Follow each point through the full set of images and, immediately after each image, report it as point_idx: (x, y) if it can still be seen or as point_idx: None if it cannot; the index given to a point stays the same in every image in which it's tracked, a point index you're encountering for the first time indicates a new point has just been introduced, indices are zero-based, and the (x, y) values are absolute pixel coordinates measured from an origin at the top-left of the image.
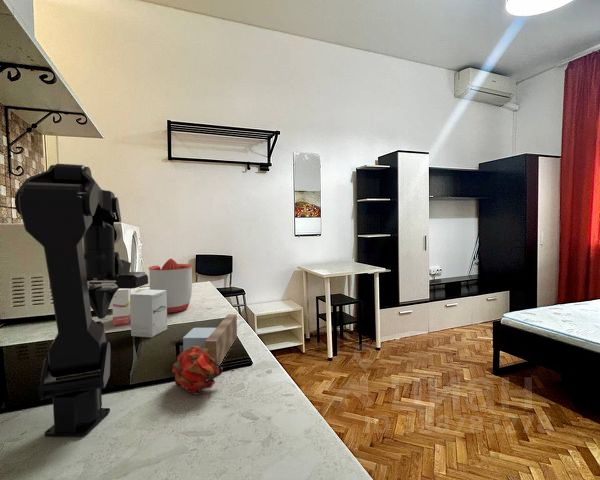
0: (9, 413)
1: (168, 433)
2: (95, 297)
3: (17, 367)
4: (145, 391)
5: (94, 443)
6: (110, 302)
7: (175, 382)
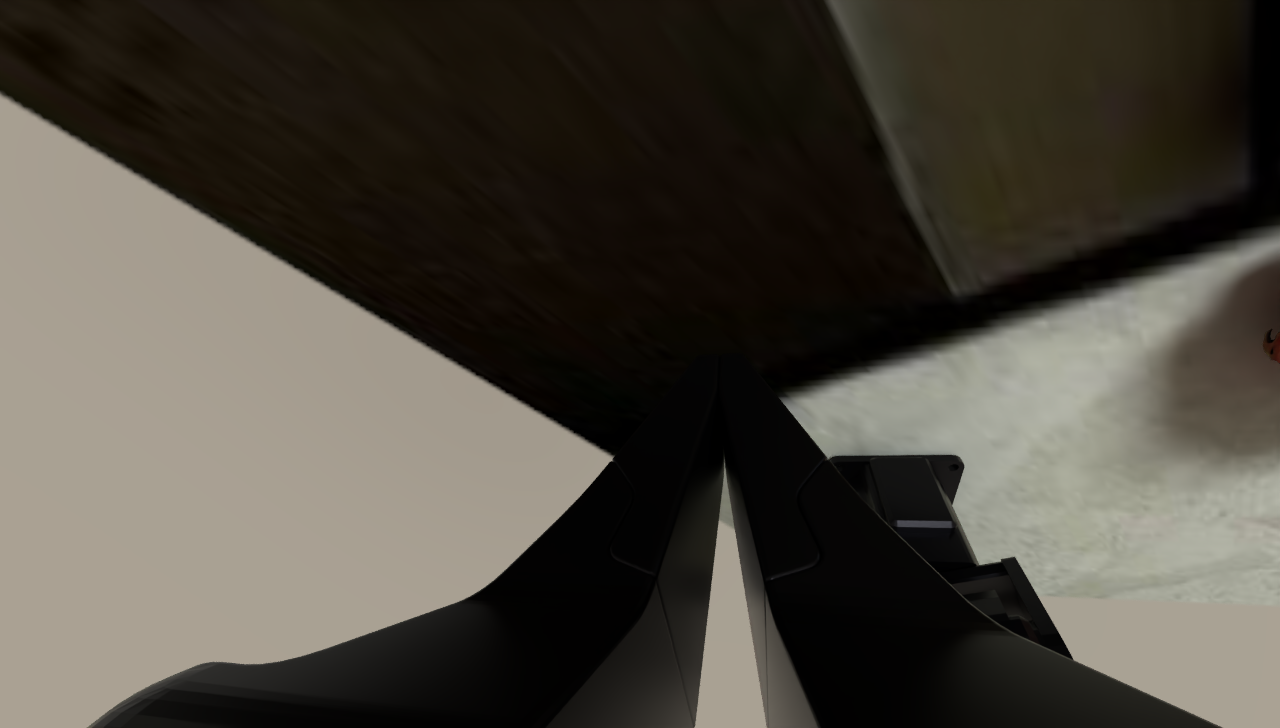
0: None
1: (1205, 521)
2: (686, 690)
3: (257, 212)
4: (1061, 345)
5: (978, 541)
6: (832, 469)
7: (1274, 359)
